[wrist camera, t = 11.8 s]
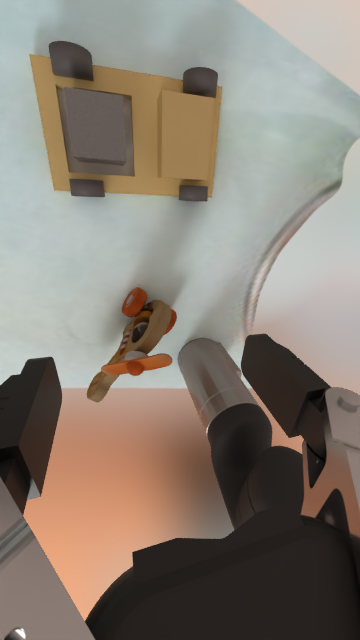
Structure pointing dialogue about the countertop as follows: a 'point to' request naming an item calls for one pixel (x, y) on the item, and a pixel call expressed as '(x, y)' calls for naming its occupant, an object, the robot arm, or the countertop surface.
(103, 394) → the toy helicopter
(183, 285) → the countertop surface
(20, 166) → the countertop surface
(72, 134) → the block
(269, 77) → the countertop surface
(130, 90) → the chassis
